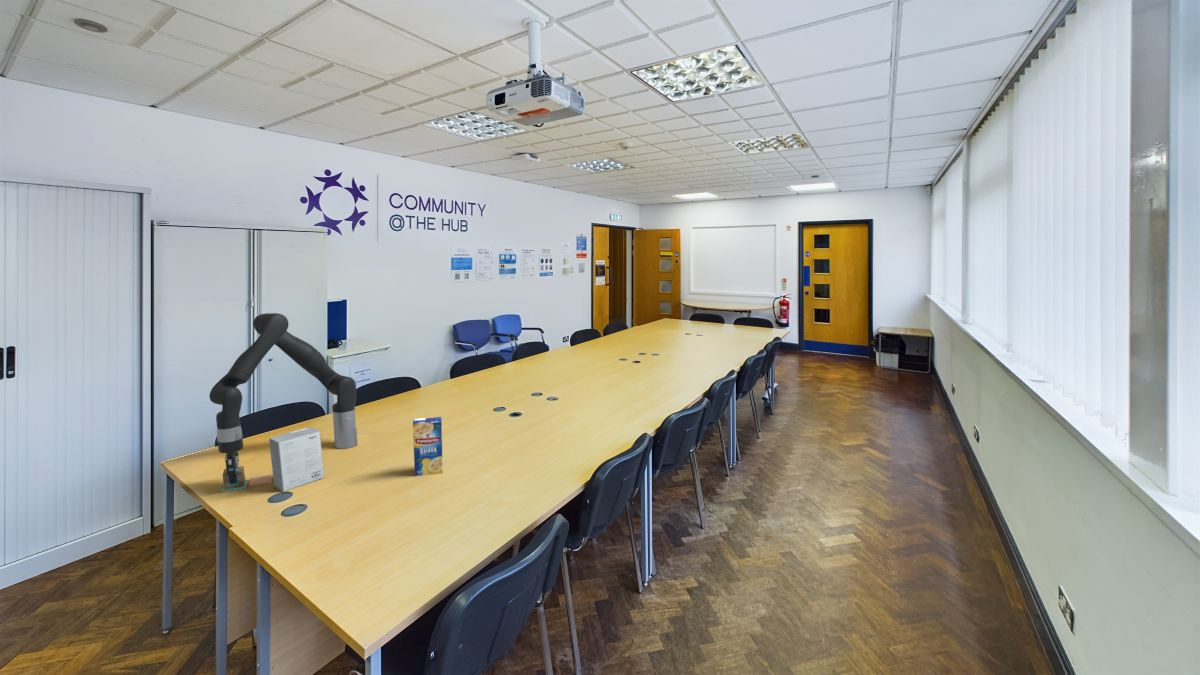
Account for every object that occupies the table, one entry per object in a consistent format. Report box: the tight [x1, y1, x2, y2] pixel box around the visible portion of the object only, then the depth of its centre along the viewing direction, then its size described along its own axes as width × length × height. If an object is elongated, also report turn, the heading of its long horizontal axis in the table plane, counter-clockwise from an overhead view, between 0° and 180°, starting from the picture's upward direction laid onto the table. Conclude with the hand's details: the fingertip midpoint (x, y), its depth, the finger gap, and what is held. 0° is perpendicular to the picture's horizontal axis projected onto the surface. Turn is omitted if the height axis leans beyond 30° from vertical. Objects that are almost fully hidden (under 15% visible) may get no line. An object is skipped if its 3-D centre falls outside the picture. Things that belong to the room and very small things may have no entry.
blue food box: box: [412, 416, 444, 477], centre depth 203 cm, size 7×11×22 cm, turn 107°
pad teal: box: [221, 479, 248, 493], centre depth 188 cm, size 7×7×1 cm
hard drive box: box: [268, 426, 325, 492], centre depth 191 cm, size 16×8×20 cm, turn 145°
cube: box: [222, 465, 246, 490], centre depth 187 cm, size 6×6×6 cm
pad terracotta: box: [248, 474, 272, 487], centre depth 193 cm, size 7×7×1 cm
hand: (234, 479), depth 188 cm, fingers open, 7 cm apart
